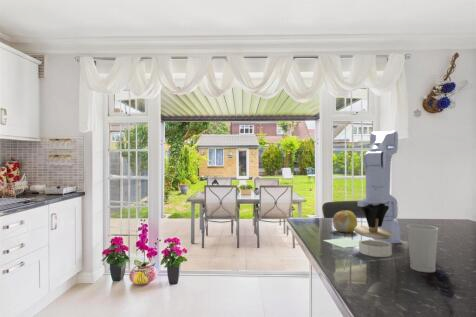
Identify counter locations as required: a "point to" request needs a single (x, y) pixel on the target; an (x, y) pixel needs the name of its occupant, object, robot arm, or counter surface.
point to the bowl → (375, 248)
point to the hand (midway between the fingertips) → (375, 226)
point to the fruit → (344, 221)
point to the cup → (422, 247)
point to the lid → (373, 231)
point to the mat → (343, 242)
